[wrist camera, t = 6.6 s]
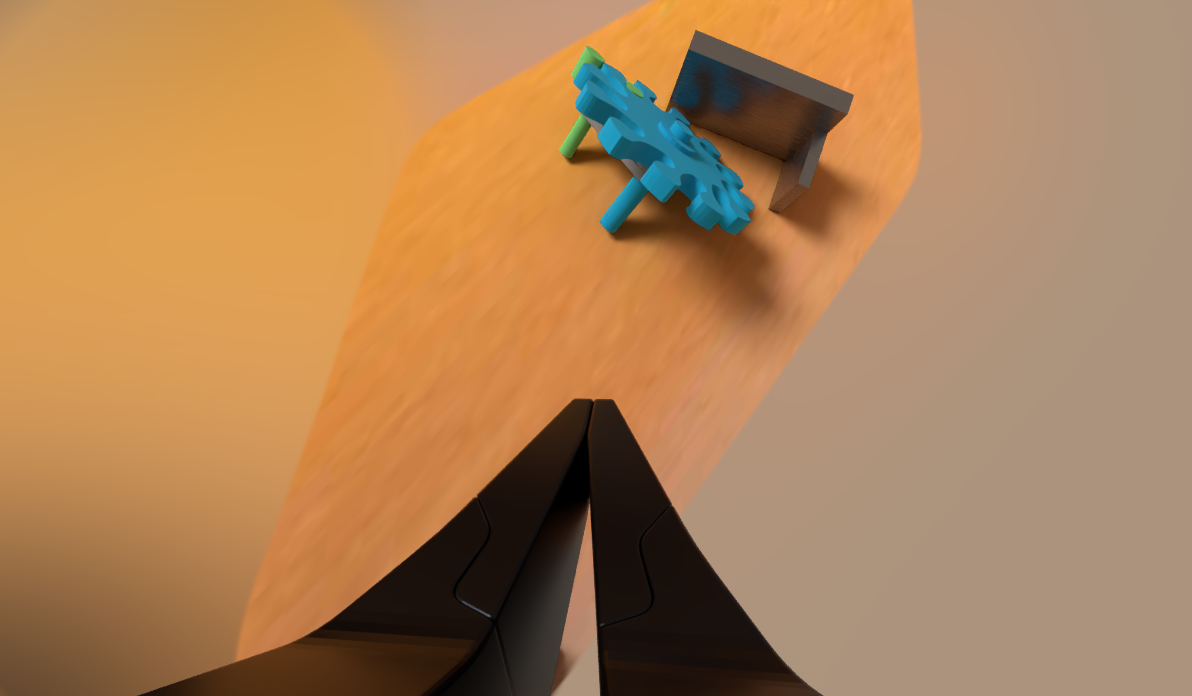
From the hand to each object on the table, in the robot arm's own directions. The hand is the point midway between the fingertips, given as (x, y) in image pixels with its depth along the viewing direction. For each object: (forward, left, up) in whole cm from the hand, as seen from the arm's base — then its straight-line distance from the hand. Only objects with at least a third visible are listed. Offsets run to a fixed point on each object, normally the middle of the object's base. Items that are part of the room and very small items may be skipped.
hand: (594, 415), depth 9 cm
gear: (+12, +1, -13) cm, 18 cm away
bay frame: (+15, -3, -13) cm, 20 cm away
